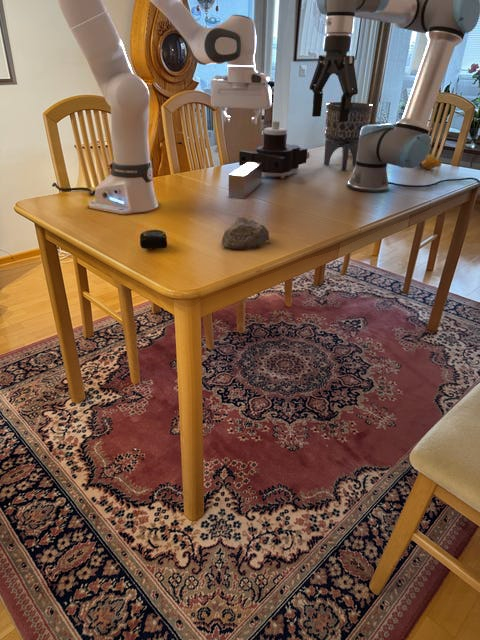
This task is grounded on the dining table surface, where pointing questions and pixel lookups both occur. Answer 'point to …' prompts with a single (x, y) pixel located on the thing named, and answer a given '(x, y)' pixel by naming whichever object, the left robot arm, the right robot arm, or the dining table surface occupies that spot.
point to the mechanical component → (276, 153)
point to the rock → (245, 234)
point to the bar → (245, 179)
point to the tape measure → (153, 239)
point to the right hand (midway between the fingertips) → (329, 119)
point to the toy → (430, 162)
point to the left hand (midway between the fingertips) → (240, 123)
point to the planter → (345, 130)
